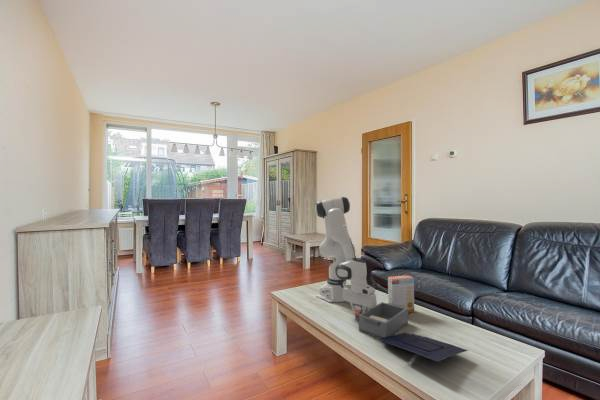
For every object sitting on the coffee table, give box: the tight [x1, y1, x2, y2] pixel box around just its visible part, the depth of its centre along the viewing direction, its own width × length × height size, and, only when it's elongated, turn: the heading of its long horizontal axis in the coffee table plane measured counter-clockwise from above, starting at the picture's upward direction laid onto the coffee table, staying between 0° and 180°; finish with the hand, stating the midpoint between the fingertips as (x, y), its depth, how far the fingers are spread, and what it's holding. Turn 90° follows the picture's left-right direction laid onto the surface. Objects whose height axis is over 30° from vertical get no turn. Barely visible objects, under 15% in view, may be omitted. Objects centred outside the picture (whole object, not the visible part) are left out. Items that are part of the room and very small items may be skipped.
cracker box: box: [387, 275, 415, 314], centre depth 171 cm, size 14×6×21 cm, turn 99°
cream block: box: [369, 315, 388, 322], centre depth 145 cm, size 10×7×5 cm
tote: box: [358, 302, 409, 339], centre depth 150 cm, size 15×27×8 cm, turn 137°
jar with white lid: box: [354, 303, 365, 322], centre depth 161 cm, size 5×5×8 cm
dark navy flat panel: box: [378, 332, 469, 362], centre depth 126 cm, size 24×30×4 cm
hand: (359, 311), depth 161 cm, fingers closed on jar with white lid, 5 cm apart
